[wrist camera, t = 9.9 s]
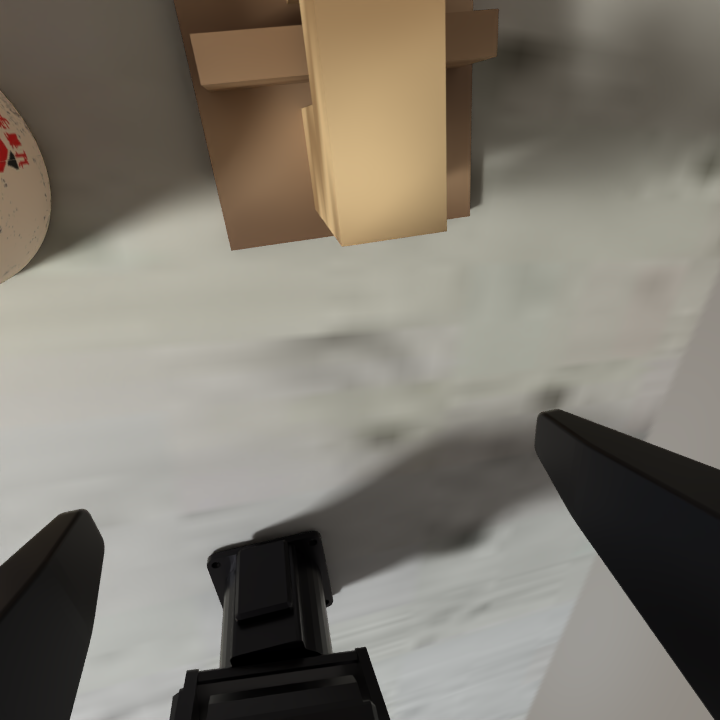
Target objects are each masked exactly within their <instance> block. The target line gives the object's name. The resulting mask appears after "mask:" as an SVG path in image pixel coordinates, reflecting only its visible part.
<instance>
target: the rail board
mask: <svg viewBox="0 0 720 720" xmlns="http://www.w3.org/2000/svg"><path fill="white" fill-rule="evenodd" d="M174 4H175V9H176V13H177V17H178V22H179V26H180V30H181V35H182V39H183V43H184V48H185V52H186V56H187V61H188V65H189V69H190V74H191V78H192V82H193V87H194V91H195V95H196V100H197V104H198V108H199V112H200V117H201V121H202V125H203V130H204V134H205V138H206V143H207V147H208V151H209V156H210V160H211V164H212V169H213V173H214V177H215V182H216V186H217V190H218V195H219V199H220V203H221V208H222V212H223V216H224V221H225V225H226V229H227V234H228V238H229V242H230V247H231V251H232V250H239V249H245V248H252V247H259V246H266V245H273V244H280V243H287V242H294V241H301V240H308V239H315V238H321V237H328V236H334V235H333V233H332V232H331V230H330V229H329V228H328V226H327V225H326V224H325V222H324V221H323V219H322V218H321V217H320V215H319V214H318V212H317V211H316V210H315V204H314V196H313V189H312V182H311V175H310V167H309V160H308V153H307V146H306V138H305V131H304V124H303V117H302V108H304V107H307V106H310V105H312V98H311V90H310V82H309V74H308V67H307V59H306V51H305V43H304V35H303V27H302V19H301V12H300V4H289V5H287V1H286V0H174ZM498 14H499V9H488V10H476V11H473V0H445V46H446V185H447V219H453V218H460V217H467V216H470V170H471V107H472V64H473V63H476V62H480V61H483V60H487V59H490V58H493V57H497V41H498Z"/></svg>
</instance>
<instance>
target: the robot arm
mask: <svg viewBox="0 0 720 720" xmlns="http://www.w3.org/2000/svg"><path fill="white" fill-rule="evenodd" d="M535 450H536V453H537V455H538V457H539V459H540V461H541V463H542V464H543V466H544V468H545V470H546V472H547V473H548V475H549V477H550V479H551V481H552V482H553V484H554V486H555V488H556V490H557V491H558V493H559V495H560V497H561V499H562V500H563V502H564V504H565V506H566V507H567V509H568V511H569V512H570V514H571V516H572V517H573V519H574V520H575V522H576V523H577V525H578V526H579V528H580V529H581V531H582V532H583V533H584V535H585V536H586V538H587V539H588V541H589V542H590V543H591V545H592V546H593V548H594V549H595V550H596V552H597V553H598V555H599V556H600V558H601V559H602V560H603V562H604V563H605V565H606V566H607V567H608V569H609V570H610V572H611V573H612V575H613V576H614V578H615V579H616V580H617V582H618V583H619V584H620V586H621V587H622V589H623V590H624V592H625V593H626V595H627V596H628V597H629V599H630V600H631V602H632V603H633V605H634V606H635V607H636V609H637V610H638V612H639V613H640V614H641V616H642V617H643V619H644V620H645V622H646V623H647V624H648V626H649V627H650V629H651V630H652V632H653V633H654V634H655V636H656V637H657V639H658V640H659V642H660V643H661V644H662V646H663V647H664V649H665V650H666V652H667V653H668V654H669V656H670V657H671V658H672V660H673V661H674V663H675V664H676V666H677V667H678V669H679V670H680V671H681V673H682V674H683V676H684V677H685V679H686V680H687V681H688V683H689V684H690V685H691V687H692V689H693V690H694V691H695V693H696V694H697V696H698V697H699V698H700V700H701V701H702V703H703V704H704V706H705V707H706V708H707V710H708V711H709V713H710V714H711V715H712V717H713V718H714V720H720V470H719V469H716V468H714V467H711V466H708V465H705V464H703V463H700V462H698V461H695V460H692V459H690V458H687V457H684V456H682V455H679V454H676V453H674V452H671V451H669V450H666V449H663V448H661V447H658V446H655V445H652V444H650V443H647V442H645V441H642V440H639V439H637V438H634V437H632V436H629V435H626V434H624V433H621V432H618V431H616V430H613V429H610V428H608V427H605V426H602V425H600V424H597V423H594V422H592V421H589V420H587V419H584V418H581V417H579V416H576V415H573V414H571V413H568V412H565V411H563V410H560V409H554V410H549V411H545V412H541V413H540V414H539V415H538V417H537V424H536V434H535ZM310 540H311V541H310ZM103 558H104V541H103V538H102V536H101V534H100V532H99V530H98V528H97V526H96V524H95V522H94V520H93V519H92V517H91V515H90V513H89V512H88V511H87V510H85V509H78V510H73V511H68V512H64V513H61V514H59V515H58V516H57V517H56V518H54V519H53V520H52V521H51V522H50V523H49V524H48V525H46V526H45V527H44V528H43V529H42V530H41V531H40V532H39V533H37V534H36V535H35V536H34V537H33V538H32V539H31V540H29V541H28V542H27V543H26V544H25V545H24V546H23V547H22V548H20V549H19V550H18V551H17V552H16V553H15V554H14V555H12V556H11V557H10V558H9V559H8V560H7V561H6V562H4V563H3V564H2V565H1V566H0V720H70V716H71V713H72V709H73V705H74V701H75V697H76V693H77V690H78V686H79V682H80V678H81V674H82V671H83V667H84V663H85V659H86V655H87V652H88V648H89V643H90V639H91V635H92V630H93V624H94V618H95V612H96V605H97V598H98V591H99V585H100V578H101V571H102V564H103ZM215 562H218V563H215ZM207 568H208V571H209V574H210V576H211V579H212V582H213V584H214V587H215V589H216V592H217V595H218V597H219V600H220V602H221V605H222V608H223V622H222V637H221V652H220V668H219V669H211V670H204V671H199V669H194V670H187V672H186V677H185V683H184V688H183V689H180V690H179V693H177V694H176V695H174V696H173V700H172V707H171V714H170V720H390V718H389V714H388V711H387V708H386V705H385V702H384V699H383V696H382V693H381V691H380V688H379V685H378V682H377V679H376V676H375V673H374V670H373V667H372V664H371V661H370V658H369V655H368V652H367V649H366V647H361V648H355V650H354V651H346V652H339V653H333V652H332V645H331V638H330V632H329V625H328V618H327V611H326V607H329V606H330V605H332V603H333V597H332V592H331V587H330V581H329V576H328V571H327V566H326V561H325V556H324V551H323V546H322V541H321V536H320V534H319V533H318V532H316V531H310V532H306V533H301V534H297V535H293V536H288V537H284V538H280V539H275V540H271V541H267V542H262V543H258V544H254V545H249V546H245V547H241V548H236V549H232V550H228V551H223V552H219V553H215V554H212V555H210V556H209V557H208V560H207Z"/></svg>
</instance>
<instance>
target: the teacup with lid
mask: <svg viewBox="0 0 720 720" xmlns="http://www.w3.org/2000/svg"><path fill="white" fill-rule="evenodd" d="M50 213H51V191H50V183H49V178H48V174H47V169H46V166H45V163H44V160H43V157H42V155H41V152H40V150H39V148H38V145H37V143H36V141H35V139H34V137H33V135H32V134H31V132H30V130H29V128H28V126H27V125H26V123H25V122H24V120H23V119H22V117H21V116H20V114H19V113H18V112H17V110H16V109H15V108H14V106H13V105H12V104H11V102H10V101H9V100H8V99H7V98H6V97H5V95H4V94H3V93H2V92H1V91H0V284H1V283H3V282H5V281H6V280H8V279H9V278H11V277H12V276H14V275H15V274H17V273H18V272H19V271H20V270H21V269H23V268H24V267H25V266H26V265H27V264H28V263H29V261H30V260H31V259H32V258H33V257H34V256H35V254H36V253H37V251H38V249H39V248H40V246H41V244H42V242H43V240H44V238H45V235H46V232H47V229H48V225H49V220H50Z"/></svg>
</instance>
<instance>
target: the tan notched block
mask: <svg viewBox="0 0 720 720" xmlns="http://www.w3.org/2000/svg"><path fill="white" fill-rule="evenodd" d="M286 1H287V5H289V4H300V12H301V19H302V27H303V35H304V43H305V51H306V59H307V67H308V74H309V82H310V90H311V98H312V105H310V106H307V107H304V108H302V117H303V124H304V131H305V138H306V146H307V153H308V160H309V167H310V175H311V182H312V189H313V196H314V204H315V210H316V211H317V212H318V214H319V215H320V217H321V218H322V219H323V221H324V222H325V224H326V225H327V226H328V228H329V229H330V230H331V232H332V233H333V235H334V236H335V237H336V239H337V240H338V242H339V243H340V244H341V246H342V247H343V246H350V245H357V244H364V243H370V242H377V241H384V240H391V239H397V238H404V237H411V236H417V235H424V234H431V233H438V232H444V231H447V185H446V46H445V0H286Z"/></svg>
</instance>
